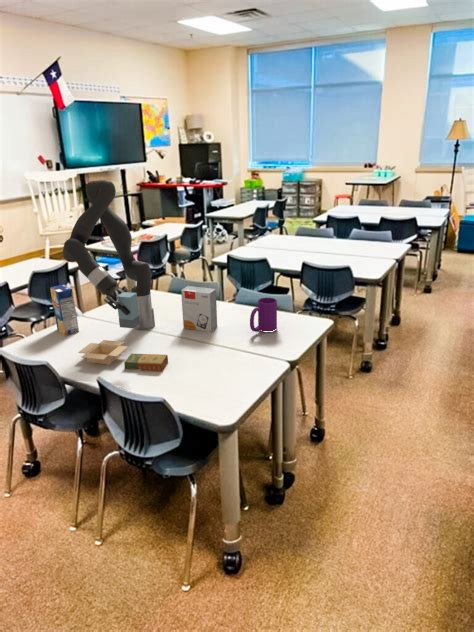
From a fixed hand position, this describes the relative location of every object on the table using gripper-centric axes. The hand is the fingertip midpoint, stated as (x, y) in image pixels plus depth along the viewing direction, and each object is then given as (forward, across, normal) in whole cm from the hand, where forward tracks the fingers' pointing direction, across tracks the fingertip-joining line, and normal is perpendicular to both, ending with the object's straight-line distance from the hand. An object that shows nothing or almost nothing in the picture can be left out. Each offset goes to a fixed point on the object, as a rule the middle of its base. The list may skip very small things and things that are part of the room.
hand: (132, 311), depth 187 cm
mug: (+47, +47, -12) cm, 67 cm away
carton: (+20, 0, +15) cm, 25 cm away
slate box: (+3, 0, +6) cm, 6 cm away
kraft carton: (+5, +2, +29) cm, 29 cm away
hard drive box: (+25, +44, +10) cm, 52 cm away
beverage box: (-20, +26, +55) cm, 64 cm away
